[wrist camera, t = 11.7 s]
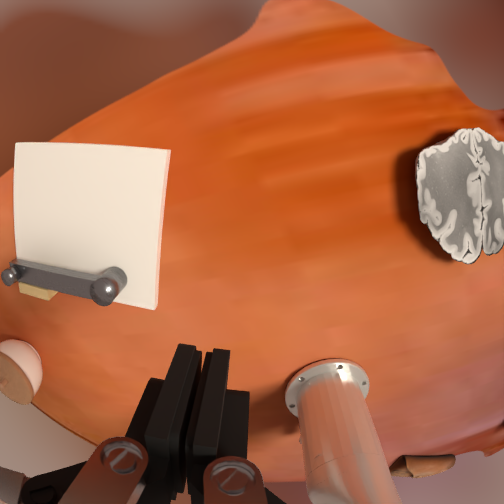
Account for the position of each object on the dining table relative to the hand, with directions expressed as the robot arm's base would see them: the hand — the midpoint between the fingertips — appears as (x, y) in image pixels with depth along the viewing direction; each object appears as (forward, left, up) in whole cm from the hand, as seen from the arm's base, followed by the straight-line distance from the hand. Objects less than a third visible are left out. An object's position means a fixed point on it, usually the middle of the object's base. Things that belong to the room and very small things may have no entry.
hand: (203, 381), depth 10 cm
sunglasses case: (-48, -48, -27) cm, 73 cm away
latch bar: (-10, +20, -25) cm, 33 cm away
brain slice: (+8, -28, -27) cm, 40 cm away
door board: (-4, +20, -27) cm, 33 cm away
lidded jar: (-30, +34, -27) cm, 52 cm away
